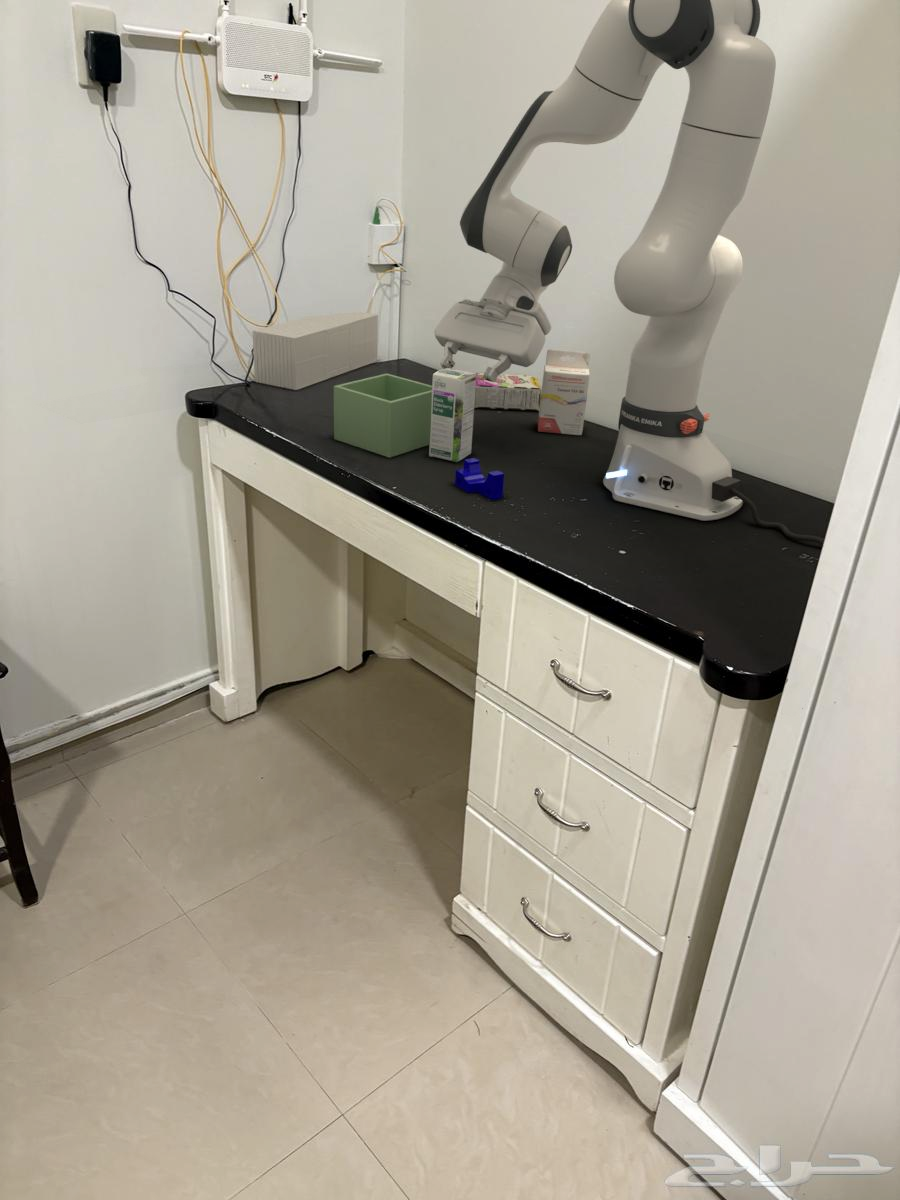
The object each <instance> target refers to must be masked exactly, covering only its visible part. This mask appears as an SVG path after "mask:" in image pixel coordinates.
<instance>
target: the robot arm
mask: <svg viewBox="0 0 900 1200" xmlns="http://www.w3.org/2000/svg"><path fill="white" fill-rule="evenodd" d="M760 24H761V7H760V3H759V0H610V1H609V3H607V5H606V6H605V8H604V9H603V11H602V12H601V14H600V15H599V18H598V19H597V21H596V23H594V26H593V27H592V29H591V31H590V33H589V35H588V37H587V38H586V40H585V43H584V45H583V47H582V49H580V50H581V51H580V52H579V54H578V57H577V59H576V61H575V64H574V66H573V68H572V70H571V71H570V74H569V75H568V77H567V78H566V79H565V80H564V82H562V84H561V85H560V86H558V87H557V88H556V89H554V90H546V91H543V92H542V93H541V94H540V95H539V96H537V98H535V100H534V101H533V102H532V104H531V105H530V106H529V108H528V109H527V110H526V112H525V113H524V115H523V117H522V118H521V120H520V121H519V123H518V124H517V125H516V127H515V129H514V131H513V132H512V134H511V135H510V137H509V138H508V140H507V141H506V143H505V145H504V147H503V148H502V150H501V151H500V153H499V155H498V156H497V158H496V160H495V162H494V163H493V165H492V166H491V168H490V170H489V171H488V173H487V175H486V176H485V178H484V179H483V181H482V182H481V184H480V185H479V187H478V188H477V190H475V192H474V193H473V194H472V195H471V197H470V198H469V199H468V201H467V202H466V204H465V206H464V208H463V210H462V213H461V216H460V220H459V226H460V230H461V233H462V236H463V238H464V240H465V243H466V245H467V246H469V247H471V248H473V249H476V250H478V251H480V252H482V253H485V254H489V255H491V256H493V257H494V258H496V259H498V260H500V261H501V262H502V265H501V268H500V270H499V272H498V273H497V274H495V276H494V277H493V278H492V280H491V281H490V283H489V285H488V286H487V288H486V289H485V291H484V293H483V294H482V296H481V298H480V299H479V301H475V300H471V299H463V300H461V301H458V302H455V303H454V304H453V305H452V307H450V309H449V310H447V312H446V313H445V315H443V317H442V318H441V319H440V320H439V322H438V324H437V325H436V327H435V328H434V331H433V332H434V337H435V339H436V340H437V342H438V344H439V345H440V346H441V347H442V348H444V351H443V353H444V354H443V355H444V356H443V358H442V360H441V361H440V367H441V368H442V369H446V368H449V369H453V367H455V365H456V362H455V361H454V360H453V357H454V356H453V355H457V353H458V352H459V351H460V352H463V353H467V354H471V355H475V356H480V357H483V358H487V359H492V360H496V361H497V363H496V364H494V365H493V366H487V368H486V369H485V371H484V372H483V373H484V378H485V379H486V380H487V381H490V382H495V380H496V379H497V377H498V375H500V374H504V373H505V372H506V371H507V370H509V369H510V368H511V366H512V365H516V366H519V367H523V368H529V367H530V366H532V365H533V364H535V363H536V361H537V360H538V357H539V356H540V354H541V352H542V350H543V348H544V346H545V343H546V336H547V335H549V333H550V332H551V330H552V325H551V322H550V320H549V318H548V316H547V313H546V312H545V310H544V308H543V307H542V305H541V303H540V302H539V298H540V296H541V295H542V294H543V293H544V292H545V291H547V289H548V287H549V286H550V285H552V284H553V283H555V282H556V281H557V279H558V277H559V276H560V274H561V272H562V271H563V269H564V268H565V266H566V264H567V263H568V262H569V259H570V257H571V254H572V250H573V243H572V237H571V234H570V231H569V228H568V226H567V225H566V224H564V223H563V222H561V221H560V220H559V219H557V218H555V217H554V216H551V215H550V214H548V213H546V212H545V211H542V210H540V209H538V208H536V207H534V206H532V205H531V204H529V203H527V202H525V201H523V200H522V199H520V198H518V197H516V196H515V195H514V194H513V192H512V191H511V190H512V189H511V187H512V186H513V184H514V182H515V180H516V179H517V177H518V176H519V175H520V173H521V172H522V170H523V168H524V166H525V165H526V163H527V162H528V161H529V159H530V157H531V156H532V154H533V152H534V151H535V149H536V148H537V147H538V146H540V145H543V144H547V143H549V144H550V143H563V144H564V143H565V144H573V145H585V146H587V145H597V144H603V143H606V142H609V141H612V140H614V139H615V138H617V137H618V136H620V135H621V134H622V133H624V132H625V130H626V129H627V127H628V126H629V124H630V123H631V121H632V120H633V118H634V116H635V114H636V113H637V111H638V109H639V107H640V105H641V103H642V101H643V98H645V95H646V92H647V90H648V87H649V86H650V84H651V82H652V80H653V78H654V76H655V73H657V71H658V70H659V68H660V67H662V65H663V64H664V63H665V64H667V65H668V66H669V67H671V68H672V69H674V70H681V69H683V68H684V69H685V71H686V73H687V77H688V82H689V87H688V88H689V89H688V94H687V100H686V102H685V107H684V111H683V114H682V117H681V122H680V125H679V129H678V133H677V136H676V141H675V144H674V148H673V151H672V155H671V158H670V163H669V166H668V169H667V172H666V177H665V180H664V182H663V185H662V187H661V190H660V192H659V195H658V197H657V199H656V201H655V203H654V205H653V207H652V209H651V211H650V213H649V215H648V217H647V219H646V221H645V222H644V224H643V227H642V228H641V231H639V234H638V236H637V237H636V239H635V240H634V242H633V243H632V244H631V246H629V248H628V249H627V250H626V251H625V252H624V253H623V254H622V255H621V257H620V258H619V259H618V261H617V265H616V267H615V270H614V277H613V284H614V285H613V286H614V289H615V294H616V296H617V298H618V300H619V302H620V303H621V304H622V305H623V307H624V308H625V309H627V310H628V311H630V312H632V313H633V314H637V315H640V316H645V317H649V319H648V321H647V323H646V325H645V328H644V329H643V332H642V333H641V335H640V336H639V338H638V339H637V340H636V342H635V343H634V345H633V347H632V350H631V352H630V359H629V365H628V372H627V373H628V374H627V381H626V388H625V394H624V395H625V396H624V397H623V398H621V403H620V404H621V405H620V409H619V415H618V424H617V425H618V426H617V427H618V435H617V438H616V443H615V447H614V450H613V454H612V456H611V460H610V463H609V466H608V468H607V470H606V472H605V475H604V477H603V478H602V479H603V480H602V483H603V485H604V487H605V488H606V489H607V490H608V491H609V492H611V494H612V495H611V496H612V499H613V500H614V501H617V502H619V503H624V504H629V505H633V506H638V507H643V508H646V509H650V510H655V511H659V512H663V513H668V514H673V515H676V516H681V517H684V518H689V519H694V520H699V521H704V522H706V521H714V520H720V519H724V518H726V517H729V516H731V515H733V514H734V513H736V512H737V511H739V510H740V509H741V508H742V506H743V504H744V503H745V504H746V505H747V507H748V508H749V509H750V511H751V514H752V519H753V521H754V523H755V524H756V525H758V526H759V527H762V528H768V529H770V528H771V529H778V530H781V531H782V533H783V534H784V535H785V536H786V538H788V539H791V540H795V541H803V542H814V543H817V544H820V545H821V546H823V540H825V538H822V537H820V536H816V535H811V534H810V535H809V534H798V533H794V532H792V531H790V529H789V528H788V527H787V526H786V525H785V524H783V523H781V522H777V521H776V522H775V521H774V522H773V521H764V520H762V519H761V518H760V516H759V513H758V508H757V506H756V504H755V503H754V502H753V501H752V500H751V499H750V498H749V497H747V496H746V494H743V493H742V492H740V486H741V482H742V480H741V479H739V478H735V477H733V471H732V465H731V462H730V461H729V459H728V458H727V457H725V456H724V454H723V453H722V452H721V451H720V450H719V449H718V448H717V447H716V445H714V443H713V442H712V441H711V440H710V439H709V437H708V436H707V435H706V434H705V432H704V431H703V430H704V427H705V426H704V425H705V423H706V422H708V421H709V420H710V419H709V417H710V415H711V413H710V412H708V413H705V414H703V413H702V412H701V410H700V409H699V407H698V405H697V402H698V396H699V390H700V384H701V380H702V375H703V370H704V363H705V360H706V356H707V353H708V350H709V348H710V344H711V341H712V339H713V336H714V333H715V331H716V328H717V326H718V323H719V322H720V319H721V315H722V313H723V311H724V309H725V306H726V304H727V302H728V299H729V298H730V296H731V295H732V293H733V292H734V291H735V289H736V288H737V287H738V285H739V283H740V281H741V279H742V276H743V270H744V262H743V257H742V254H741V251H740V249H739V248H738V246H737V245H736V243H734V242H733V241H732V240H730V238H727V237H725V236H723V235H720V233H721V231H722V229H723V227H724V226H725V224H726V222H727V220H728V219H729V218H730V216H731V214H732V213H733V212H734V210H735V209H736V208H737V207H738V206H739V204H740V203H741V201H742V200H743V198H744V196H745V193H746V190H747V186H748V183H749V180H750V177H751V173H752V171H753V167H754V164H755V161H756V157H757V155H758V150H759V147H760V145H761V142H762V141H761V140H762V137H763V135H764V130H765V127H766V122H767V118H768V115H769V111H770V105H771V100H772V95H773V89H774V83H775V75H776V67H777V62H776V56H775V54H774V51H773V50H772V48H771V47H770V46H769V45H768V44H767V43H766V42H764V41H763V40H761V39H759V38H758V37H756V36H757V35H758V31H759V28H760Z"/></svg>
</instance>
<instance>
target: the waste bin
mask: <svg viewBox="0 0 900 1200" xmlns="http://www.w3.org/2000/svg"><path fill="white" fill-rule="evenodd" d="M431 405H432V384H431V385H430V384H427V383H423V382H420V381H416V380H412V379H409V378H404V377H401V376H397V375H394V374H390V373H382V374H378V375H374V376H370V377H366V378H362V379H357V380H354V381H350V382H345V383H341V384H336V385H333V439H334V440H336V441H339V442H342V443H345V444H348V445H351V446H353V447H357V448H359V449H362V450H366V451H369V452H372V453H374V454H377V455H380V456H382V457H386V458H389V459H390V458H393V457H396V456H399V455H403V454H405V453H408V452H411V451H414V450H417V449H420V448H424V447H427V446H430V430H431Z"/></svg>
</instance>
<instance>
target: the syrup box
mask: <svg viewBox="0 0 900 1200" xmlns="http://www.w3.org/2000/svg"><path fill="white" fill-rule="evenodd" d="M470 372H471V371H465V370H461V369H460V370H459V369H454V368H452V369H449V368H446V369H443V368H442V369H440V370H437V371H435V372H434V373H432V380H431V382H432V383H431V386H432V405H431V430H430V445H428V446H429V448H428V450H429V451H428V457H430V458H438V459H441V460H446V461H450V462H454V463H458V462H460V461H462V460H464V459H465V458H467V457H468V456H469V455H471V454H472V446H473V445H472V443H473V431H474V418H475V417H474V416H475V408H474V403H475V388H476V373H477V372H474V373H470Z"/></svg>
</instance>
